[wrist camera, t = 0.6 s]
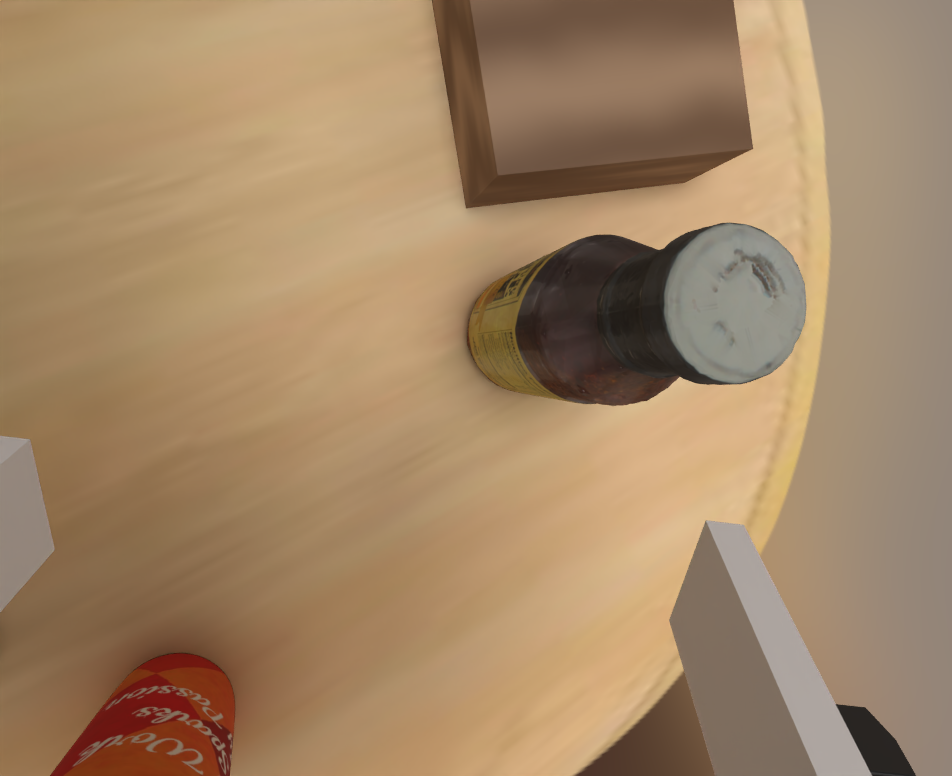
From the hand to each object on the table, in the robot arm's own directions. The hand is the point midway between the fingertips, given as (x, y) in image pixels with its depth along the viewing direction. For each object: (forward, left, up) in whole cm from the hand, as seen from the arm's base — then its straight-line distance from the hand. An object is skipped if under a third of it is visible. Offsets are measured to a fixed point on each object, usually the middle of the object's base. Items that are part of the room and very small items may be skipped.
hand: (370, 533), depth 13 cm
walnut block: (-17, +15, -21) cm, 31 cm away
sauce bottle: (-3, +10, -21) cm, 24 cm away
